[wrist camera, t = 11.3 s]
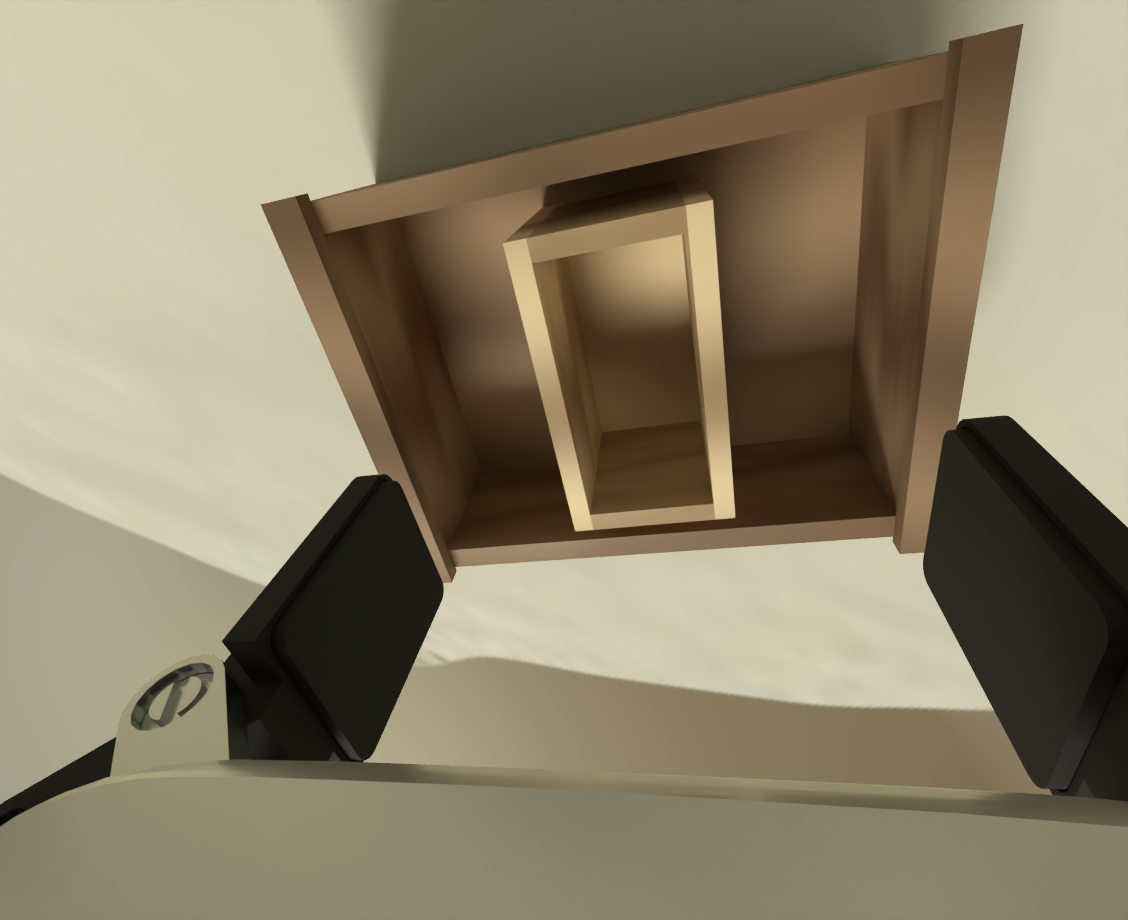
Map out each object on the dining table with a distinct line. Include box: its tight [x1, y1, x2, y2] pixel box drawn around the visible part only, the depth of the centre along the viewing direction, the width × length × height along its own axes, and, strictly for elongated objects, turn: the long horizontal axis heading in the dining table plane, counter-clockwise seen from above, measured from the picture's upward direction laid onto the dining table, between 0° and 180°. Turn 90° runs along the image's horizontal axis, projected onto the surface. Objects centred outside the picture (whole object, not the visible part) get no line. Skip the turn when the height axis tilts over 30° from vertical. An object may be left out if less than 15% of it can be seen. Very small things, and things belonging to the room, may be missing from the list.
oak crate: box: [503, 175, 735, 531], centre depth 18 cm, size 9×5×6 cm, turn 12°
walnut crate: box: [261, 24, 1023, 583], centre depth 18 cm, size 13×17×7 cm
